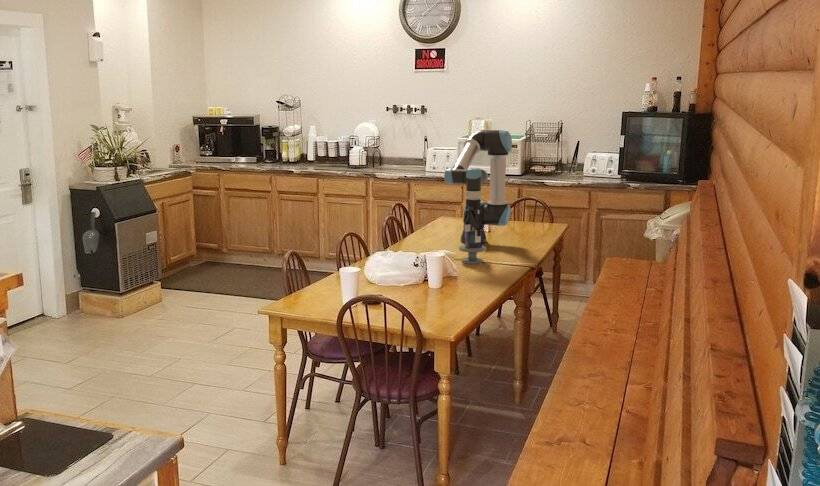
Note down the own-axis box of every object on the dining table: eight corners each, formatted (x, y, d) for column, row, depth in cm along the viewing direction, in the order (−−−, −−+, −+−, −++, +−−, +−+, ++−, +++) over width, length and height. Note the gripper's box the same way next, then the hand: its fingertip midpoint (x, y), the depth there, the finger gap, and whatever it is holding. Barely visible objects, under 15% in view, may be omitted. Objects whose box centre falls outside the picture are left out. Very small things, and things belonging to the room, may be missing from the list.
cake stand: (479, 257, 390) (479, 243, 388) (490, 263, 377) (490, 249, 376) (454, 259, 386) (454, 245, 384) (464, 265, 373) (465, 251, 371)
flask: (465, 248, 377) (466, 228, 375) (463, 247, 380) (464, 227, 378) (482, 247, 380) (483, 227, 378) (480, 246, 383) (481, 226, 380)
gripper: (457, 195, 385) (456, 235, 389) (476, 202, 362) (475, 244, 366) (470, 194, 387) (469, 234, 392) (490, 202, 364) (489, 243, 369)
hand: (472, 239), depth 379 cm, fingers open, 13 cm apart
